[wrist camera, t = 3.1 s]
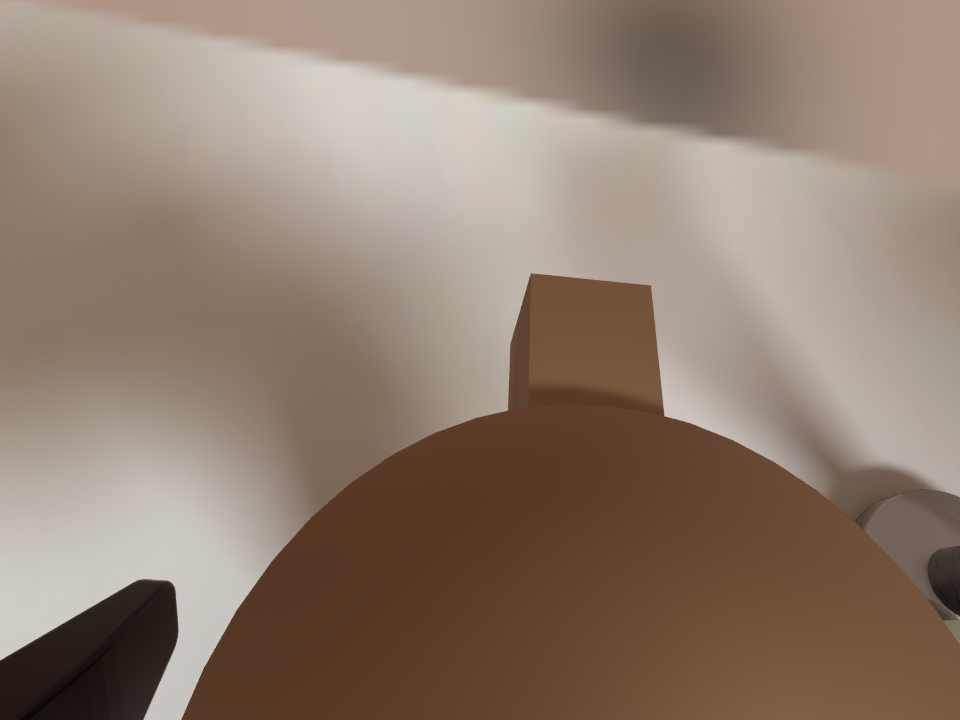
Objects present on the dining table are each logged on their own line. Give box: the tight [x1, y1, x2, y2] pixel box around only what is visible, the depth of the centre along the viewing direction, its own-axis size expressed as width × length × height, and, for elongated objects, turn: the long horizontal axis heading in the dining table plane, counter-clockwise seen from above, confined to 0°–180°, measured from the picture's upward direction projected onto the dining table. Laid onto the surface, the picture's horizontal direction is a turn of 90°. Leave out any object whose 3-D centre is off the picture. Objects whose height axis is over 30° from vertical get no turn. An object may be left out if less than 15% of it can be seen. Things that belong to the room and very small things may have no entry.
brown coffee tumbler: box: [182, 274, 960, 720], centre depth 8 cm, size 6×5×12 cm
